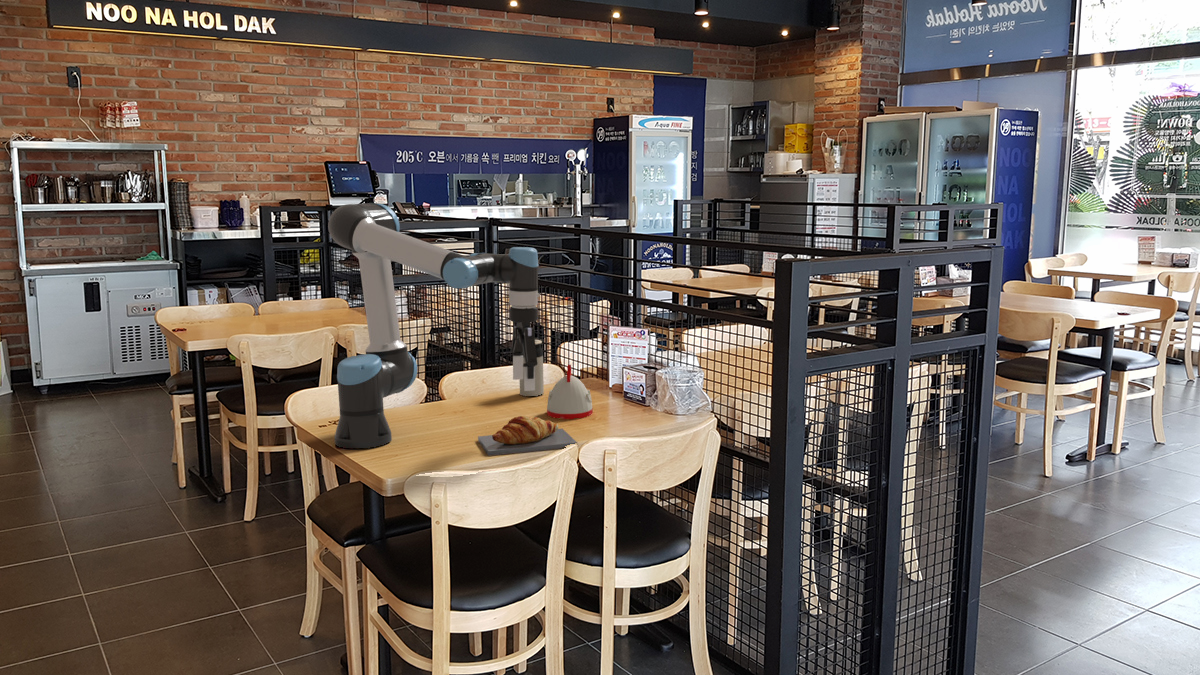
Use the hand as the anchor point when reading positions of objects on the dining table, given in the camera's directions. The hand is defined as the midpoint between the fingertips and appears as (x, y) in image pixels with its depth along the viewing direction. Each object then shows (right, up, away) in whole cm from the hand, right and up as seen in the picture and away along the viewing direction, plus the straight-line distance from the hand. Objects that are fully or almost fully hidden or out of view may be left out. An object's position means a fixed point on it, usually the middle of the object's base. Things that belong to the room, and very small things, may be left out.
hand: (523, 384), depth 245 cm
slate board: (+1, -16, +3) cm, 16 cm away
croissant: (+1, -15, +2) cm, 15 cm away
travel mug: (-2, -7, +61) cm, 61 cm away
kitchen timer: (+11, -11, +35) cm, 38 cm away
